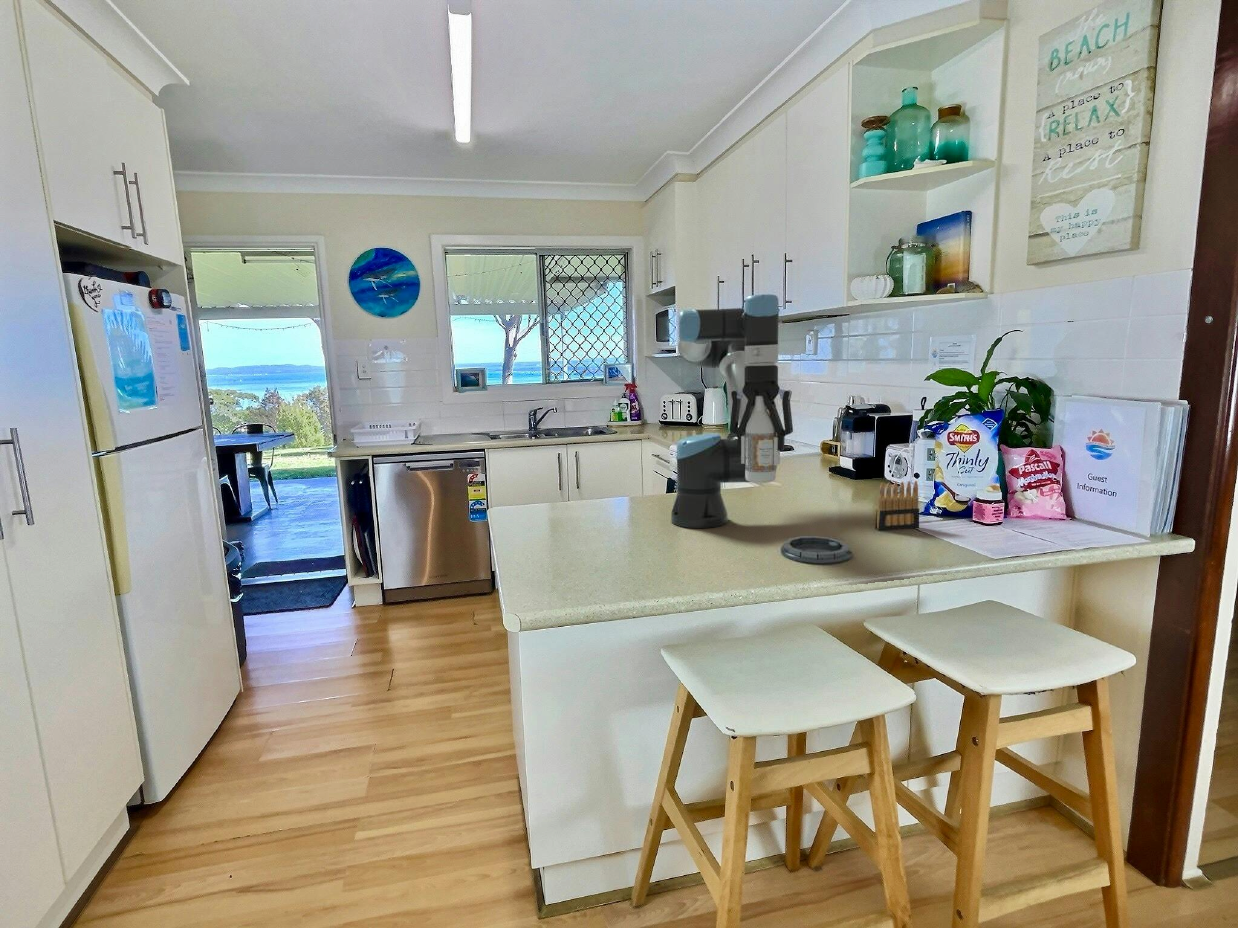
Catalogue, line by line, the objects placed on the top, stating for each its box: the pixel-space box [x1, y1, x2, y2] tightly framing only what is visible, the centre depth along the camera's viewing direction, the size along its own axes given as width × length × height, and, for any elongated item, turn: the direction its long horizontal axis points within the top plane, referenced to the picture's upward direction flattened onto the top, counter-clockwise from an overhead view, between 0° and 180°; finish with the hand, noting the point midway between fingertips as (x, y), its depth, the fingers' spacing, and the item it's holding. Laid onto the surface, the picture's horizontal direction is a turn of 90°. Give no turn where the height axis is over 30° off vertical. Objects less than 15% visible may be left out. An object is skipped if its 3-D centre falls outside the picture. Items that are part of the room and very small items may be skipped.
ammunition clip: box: [874, 480, 920, 532], centre depth 154 cm, size 11×2×12 cm, turn 97°
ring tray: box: [780, 535, 853, 565], centre depth 138 cm, size 15×15×2 cm
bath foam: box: [745, 396, 777, 484], centre depth 145 cm, size 7×7×20 cm
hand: (760, 463), depth 146 cm, fingers closed on bath foam, 7 cm apart
